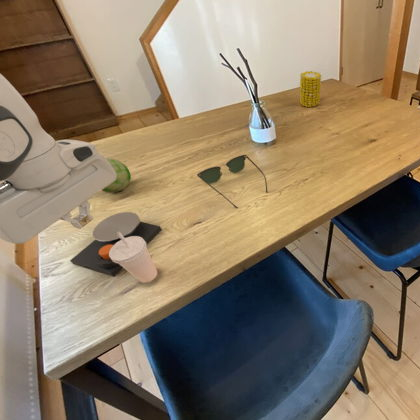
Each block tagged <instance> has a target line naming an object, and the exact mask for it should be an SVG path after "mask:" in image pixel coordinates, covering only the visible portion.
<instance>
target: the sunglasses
mask: <svg viewBox="0 0 420 420" xmlns="http://www.w3.org/2000/svg"><path fill="white" fill-rule="evenodd" d="M246 159H247V160H248V161H250V163H251V164H252V165H254V166H255V168H256V169H257V170H258V171H259V172H260V173H261V174H262V176H263V177H264V183H265V193H266V194H268V183H267V178H266V176H265V173H264V172H263V171H262V170H261V168H260V167H259V166H257V164H256V163H255V162H254V161H253V160H252V159H251V158H250V157H249V156H248V155H246V154H242V155H239V156H235V157H233V158H232V159H229V160H228V161H227V162H226V163H224V164H221V165H220V166H212V167H208V168H206V169H204V170H202V171H200V172H198V173H197V174H196V177H198V178H199V179H201V181H203V182H204V183H205V184H207V185H208V186H209V187H210V188H212V190H214V191H216V193H218V194H219V195H221V196H222V197H223V198H224V199H225V200H227V201H228V202H229V203H230V204H231V205H232V206H233V207H234V208H236V209H238V208H239V207H238V206H237V205H235V204H234V203H233V202H232V201H230V200H229V199H228V198H227V197H226V196H225V195H224V194H222V193H221V192H220V191H219V190H218V189H216V188H215V187H214V186H212V185H213V184H215V183H217V182H219V181H220V180H221V178H222V177H223V173H222V171H221V170H222V167H224V166H226V167H227V168H228V171H229V172H230V173H233V174H238V173H240V172H242V171H243V170H244V169H245V165H246V161H247V160H246Z"/></svg>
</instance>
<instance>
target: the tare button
mask: <svg viewBox="0 0 420 420" xmlns="http://www.w3.org/2000/svg"><path fill="white" fill-rule="evenodd" d="M112 247H113V245H106V246H104V247H102V248H101V249H100V250H99V254H100V255H101V257H102V258H103V259H105V260H108V259H111V258H110V257H109V251H110V249H111V248H112Z"/></svg>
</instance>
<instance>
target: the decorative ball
mask: <svg viewBox="0 0 420 420" xmlns="http://www.w3.org/2000/svg"><path fill="white" fill-rule="evenodd" d="M105 158H106V157H105ZM106 159H107V160H108V162H109V163H110V164H111V165H112V167H113V168H114V170H115V171H116V173H117V177H116V180H115V181H114V182H112V183H111V184H110V185H108V186H107V187H105V188H104V189H102V190H101V191H102V192H105V193H116V192H121V191H123V190H125V189H126V188H127V187H129V185H130V182H131V180H132V179H131V172H130V169H129V168H128V166H126V164H124V163H123V162H122V161H120V160H118V159H115V158H110V157H109V158H106Z"/></svg>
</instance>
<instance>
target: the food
mask: <svg viewBox="0 0 420 420" xmlns="http://www.w3.org/2000/svg"><path fill="white" fill-rule="evenodd" d="M299 77H300V78H299V79H300V80H299V86H300V87H299V88H300V89H299V102H300V105H301V106H303V107H305V108H312V107H315V106H318V105H320V103H321V102H320V101H321V92H322V91H321V88H322V83H321V82H322V75H321V73H320V72H319V71H318V72H316V71H313V70H309V71H308V70H307V71H305V72H301V73H300V75H299Z"/></svg>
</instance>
